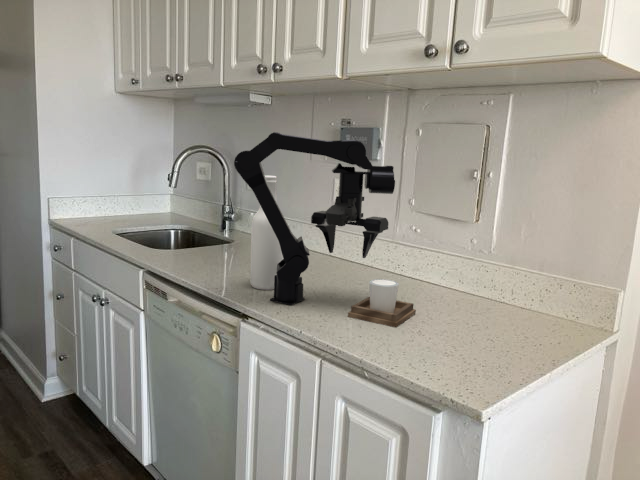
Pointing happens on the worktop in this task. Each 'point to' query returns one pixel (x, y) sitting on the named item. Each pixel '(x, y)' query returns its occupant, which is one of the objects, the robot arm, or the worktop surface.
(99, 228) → the worktop surface
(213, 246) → the worktop surface
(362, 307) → the walnut holder
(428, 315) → the worktop surface
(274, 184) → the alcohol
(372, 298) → the white cup
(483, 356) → the worktop surface
